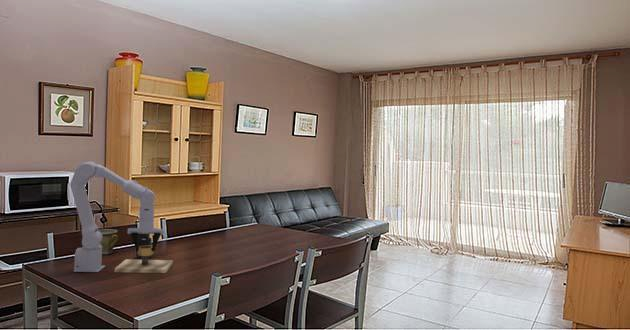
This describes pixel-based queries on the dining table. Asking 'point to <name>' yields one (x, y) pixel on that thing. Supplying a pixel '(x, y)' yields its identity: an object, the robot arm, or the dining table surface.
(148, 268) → the piston block
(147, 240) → the supplement bottle
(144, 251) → the wooden ring
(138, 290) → the dining table surface
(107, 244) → the ceramic cup
